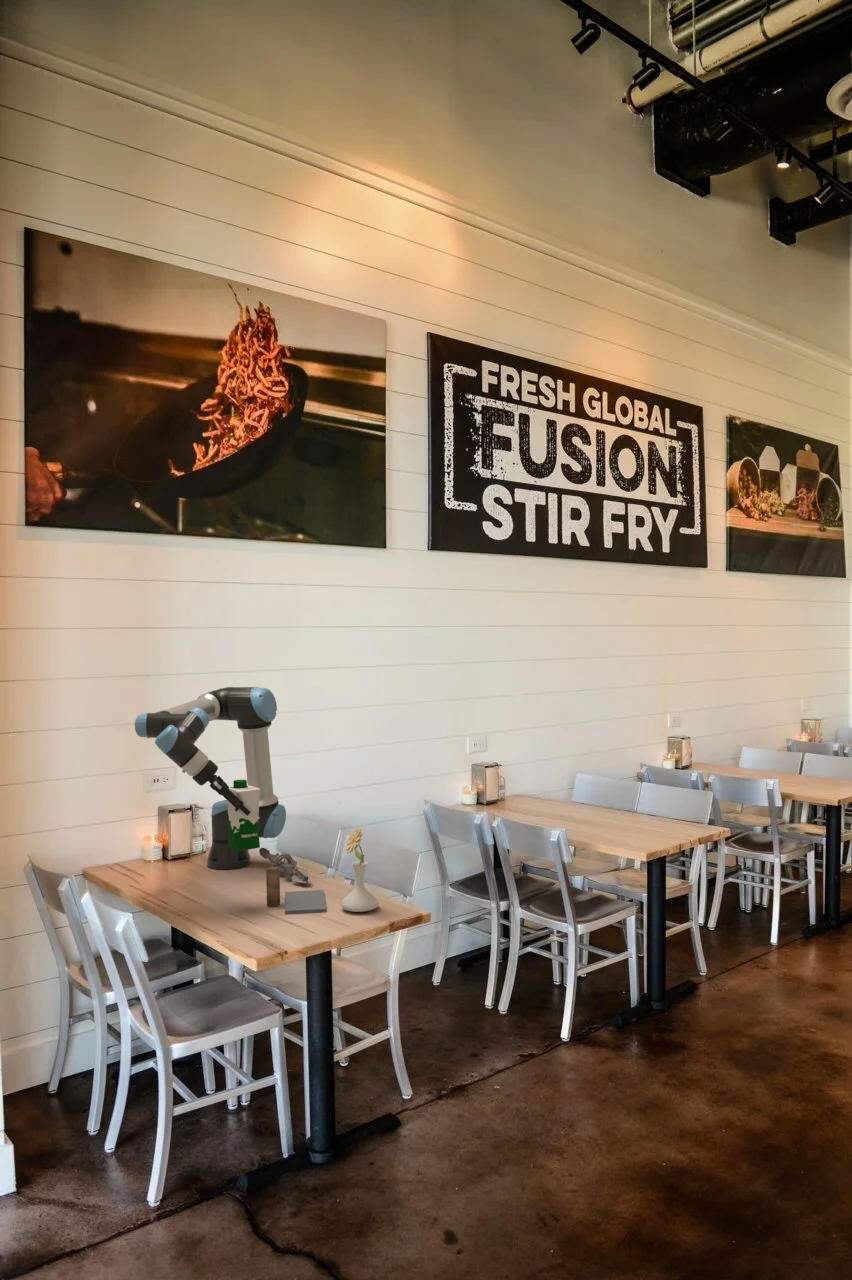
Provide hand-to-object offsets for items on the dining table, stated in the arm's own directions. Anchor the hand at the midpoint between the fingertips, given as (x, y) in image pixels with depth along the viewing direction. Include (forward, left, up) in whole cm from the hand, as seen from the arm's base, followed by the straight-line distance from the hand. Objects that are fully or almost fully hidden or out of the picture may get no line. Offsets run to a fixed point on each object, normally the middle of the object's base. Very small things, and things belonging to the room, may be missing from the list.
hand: (254, 817), depth 273 cm
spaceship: (-32, +8, -27) cm, 43 cm away
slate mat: (0, +15, -27) cm, 31 cm away
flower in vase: (+10, +31, -27) cm, 42 cm away
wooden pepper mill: (0, +5, -27) cm, 27 cm away
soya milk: (+1, -3, -9) cm, 10 cm away
